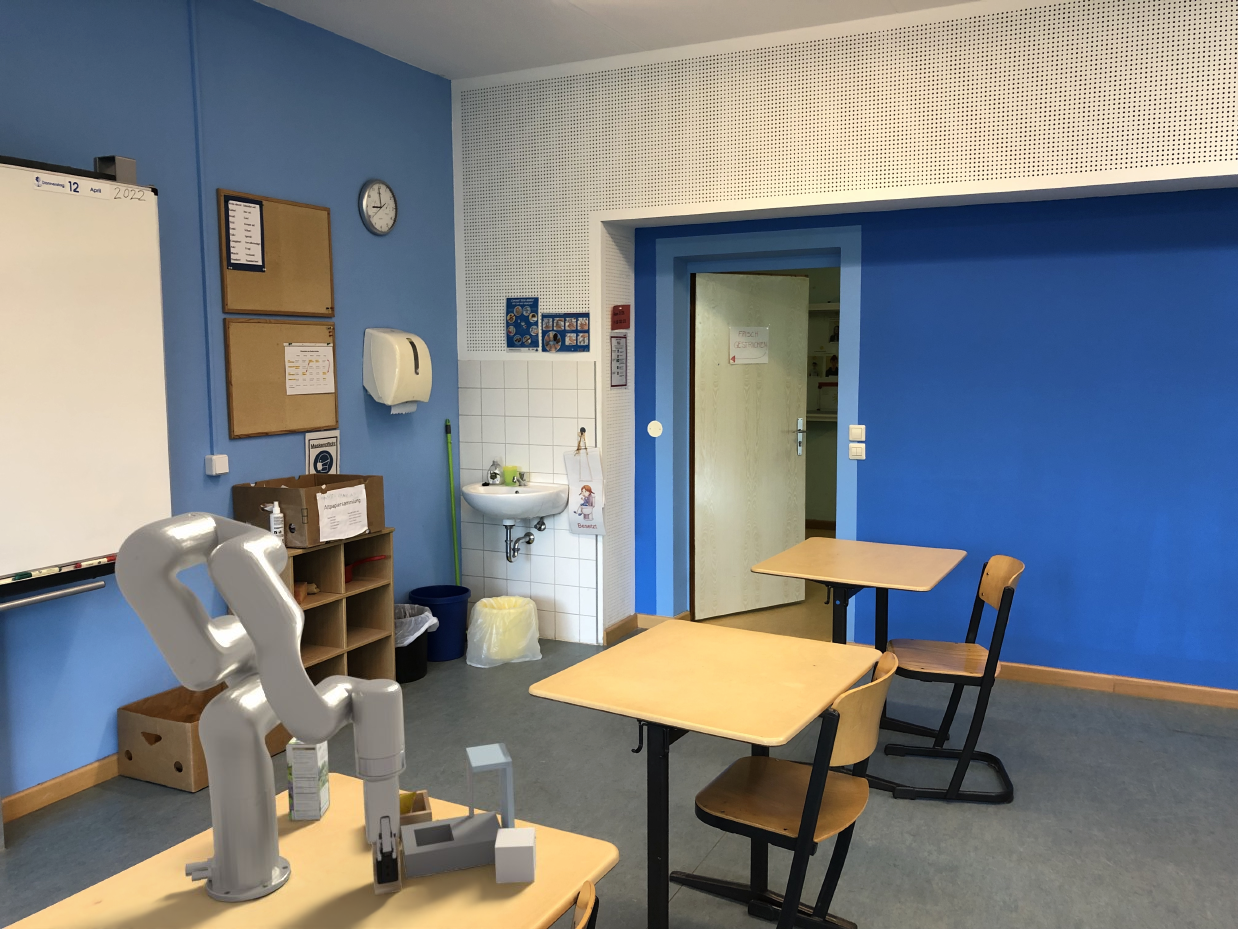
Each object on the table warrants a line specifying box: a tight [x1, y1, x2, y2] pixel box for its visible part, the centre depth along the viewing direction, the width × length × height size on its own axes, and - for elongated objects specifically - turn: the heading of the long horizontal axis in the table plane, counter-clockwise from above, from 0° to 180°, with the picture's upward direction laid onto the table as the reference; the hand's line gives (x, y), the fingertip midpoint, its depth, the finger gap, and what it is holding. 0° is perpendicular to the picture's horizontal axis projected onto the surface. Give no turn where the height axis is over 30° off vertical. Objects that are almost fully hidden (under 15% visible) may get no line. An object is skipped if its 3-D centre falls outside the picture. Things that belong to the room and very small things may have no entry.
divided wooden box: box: [399, 789, 433, 840], centre depth 167 cm, size 9×9×4 cm
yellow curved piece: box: [399, 790, 417, 815], centre depth 166 cm, size 5×5×10 cm
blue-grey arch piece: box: [465, 742, 516, 829], centre depth 159 cm, size 6×8×16 cm
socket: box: [400, 810, 502, 880], centre depth 157 cm, size 16×10×4 cm, turn 107°
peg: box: [371, 820, 402, 896], centre depth 147 cm, size 4×4×10 cm
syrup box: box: [285, 736, 331, 821], centre depth 172 cm, size 6×6×14 cm
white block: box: [494, 826, 537, 884], centre depth 151 cm, size 6×6×6 cm
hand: (386, 870), depth 148 cm, fingers open, 5 cm apart
